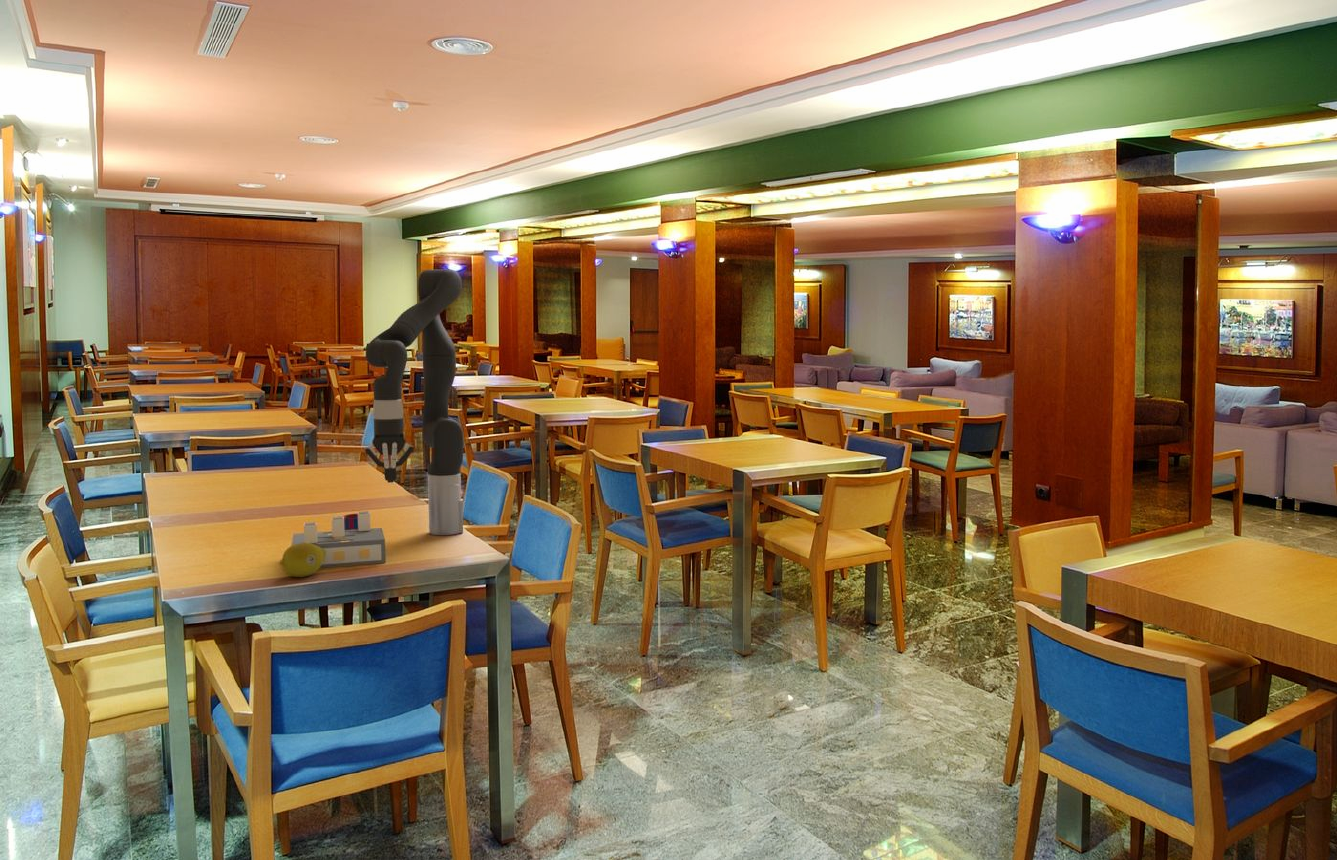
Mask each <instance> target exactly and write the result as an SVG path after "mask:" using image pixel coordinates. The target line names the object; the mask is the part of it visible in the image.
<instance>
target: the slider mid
mask: <svg viewBox="0 0 1337 860" xmlns="http://www.w3.org/2000/svg"><path fill="white" fill-rule="evenodd" d="M343 516H344V515H343ZM343 516H332V517H331V531H332V537H345V530H344V517H343Z"/></svg>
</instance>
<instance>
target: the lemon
mask: <svg viewBox="0 0 1337 860" xmlns="http://www.w3.org/2000/svg"><path fill="white" fill-rule="evenodd" d="M325 557H326V551H325V550H324V549H323V548H320V547H318V546H316V545H314V544H310V543H299V544H295V545H293V546H289V547H287V549H285V551H284V553H283V555H282V559H281V560H280V562H279V564H280V566H281V567H283V570H284V572H286V574H287V575H289V576H290V577H294V578H305V577H308V576H310V575H311V576H312V574H314V573H316V572H317V571H318V570H319V569H321V568H320V566H321V565H322V562H323V561H324V560H325Z"/></svg>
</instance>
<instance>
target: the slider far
mask: <svg viewBox="0 0 1337 860" xmlns="http://www.w3.org/2000/svg"><path fill="white" fill-rule="evenodd" d="M357 514H358V531H370V529H371V512H370V511H369V510H363V511H357Z"/></svg>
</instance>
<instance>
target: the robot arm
mask: <svg viewBox="0 0 1337 860" xmlns="http://www.w3.org/2000/svg"><path fill="white" fill-rule="evenodd" d="M462 288H463V282H462V278H461V275H460V274H459V273H458V272H457V271H456V270H453V269H449V268H448V269H447V268H445V269H444V268H441V269H438V268H437V269H436V268H435V269H425V270H423V271H421V272H420V274H419V276H418V281H417V292H418V293H417V294H418V302H417V303H416V304H414V305H412V306H411V307H408V308H407V309H406V310H404V311H403V312H402V313H401V314H400V315H399V316H398V317H397V319H396V320H395V321H394V322H393V323H392V325H391V326H390V327H389V328H387V329H385V330H384V331H382V332H381V333H380V334H378V335H377V336H375V337H373V339H372V340H371V341H370V342H369V343H368V344H367V346H366V349H365V359H366V362H367V363H368V364H369V365H370V366H372V367H375V368H386V371H385V374H384V375H383V376H382V375H381V376H379V377H378V376H377V377H376V378H374V380H373V408H372V411H373V413H372V416H373V438H372V441H371V444H370V445H369V446H366V447H365V448H364V451H365V454H366V455H368V457H369V458H370V459H371V460H372V461H373V462H374V463H375V465H376V466H378V467H379V468H380V467H381V468H383V471H384V480H385V481H386V482H387V483H388V484H389V483H391V484H392V483H394V481H396V480H397V468H398V467H400V466H403V465H404V463H406V460H407V459H408V458H409V457H410V455H411V454H412V453H413V451H414V449H415V448H414V446H413V445H411V444H409V443H408V442H407V441H406V440H407V439H406V438H405V432H404V416H405V415H404V407H403V401H402V397H403V396H402V395H403V394H402V393H403V392H402V391H403V390H402V383H403V377H404V374H405V370H406V365H407V363H408V362H407V361H408V350H407V348H408V347H410V346H411V345H413V343H414V342H415V341H416V340H417V338H418V337H419V336H420V334H421V333H422V371H423V372H422V373H423V375H422V376H423V413H422V425H421V429H422V430H421V431H422V432H421V434H422V439H423V442H424V443H425V445H427V446H428V447H429V448H431V449H433V450H432V451H433V452H432V454H433V455H432V456H433V457H432V460H431V462H429V463H428V465H427V492H428V493H427V497H428V499H427V501H428V530H429V534H431V535H433V536H434V535H435V536H452V535H457V534H463V533H464V515H463V514H464V511H463V509H464V508H463V500H462V481H461V480H462V479H461V474H462V473H461V471H462V469H461V468H462V465H463V463H464V462H463V461H464V432H463V428H462V426H461V424H460V423H459V422H458V421H456V420H454V419H452V418H449V417H450V416H449V397H450V393H451V391H452V387H453V385H454V381H455V377H456V373H457V352H456V347H455V344H454V342H453V340H452V338H451V337H450V335H449V333H448V332H447V329H446V328H445V326H444V325H443V322H442V320H441V316H440V314H441V313H442V312H443V311H445V309H447V308H448V307H450V306H451V305H452V304H453V303H455V301H456V300H457V299H458V298H459V297H460V295H461V293H462ZM375 449H376V450H377V452H378V453H379V454H380V455H381V456H382V460H383V461H381V460H380V459H379V457H378V456H377V455H376V454H375V452H376V451H375ZM402 449H403V451H404V453H403V454H402V455H401V457H399V459H398V460H397V457H398V454H399V453H400V452H401V451H402ZM389 456H390V461H389Z"/></svg>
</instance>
